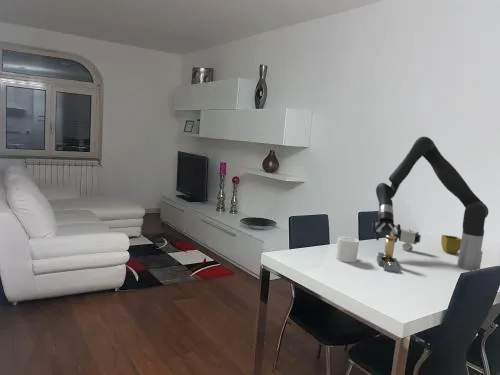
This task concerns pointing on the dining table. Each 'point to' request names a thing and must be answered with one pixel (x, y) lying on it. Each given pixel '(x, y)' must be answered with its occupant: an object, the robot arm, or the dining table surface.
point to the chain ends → (388, 263)
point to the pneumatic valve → (409, 239)
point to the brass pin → (389, 247)
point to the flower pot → (450, 244)
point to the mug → (347, 249)
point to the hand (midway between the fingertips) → (386, 240)
